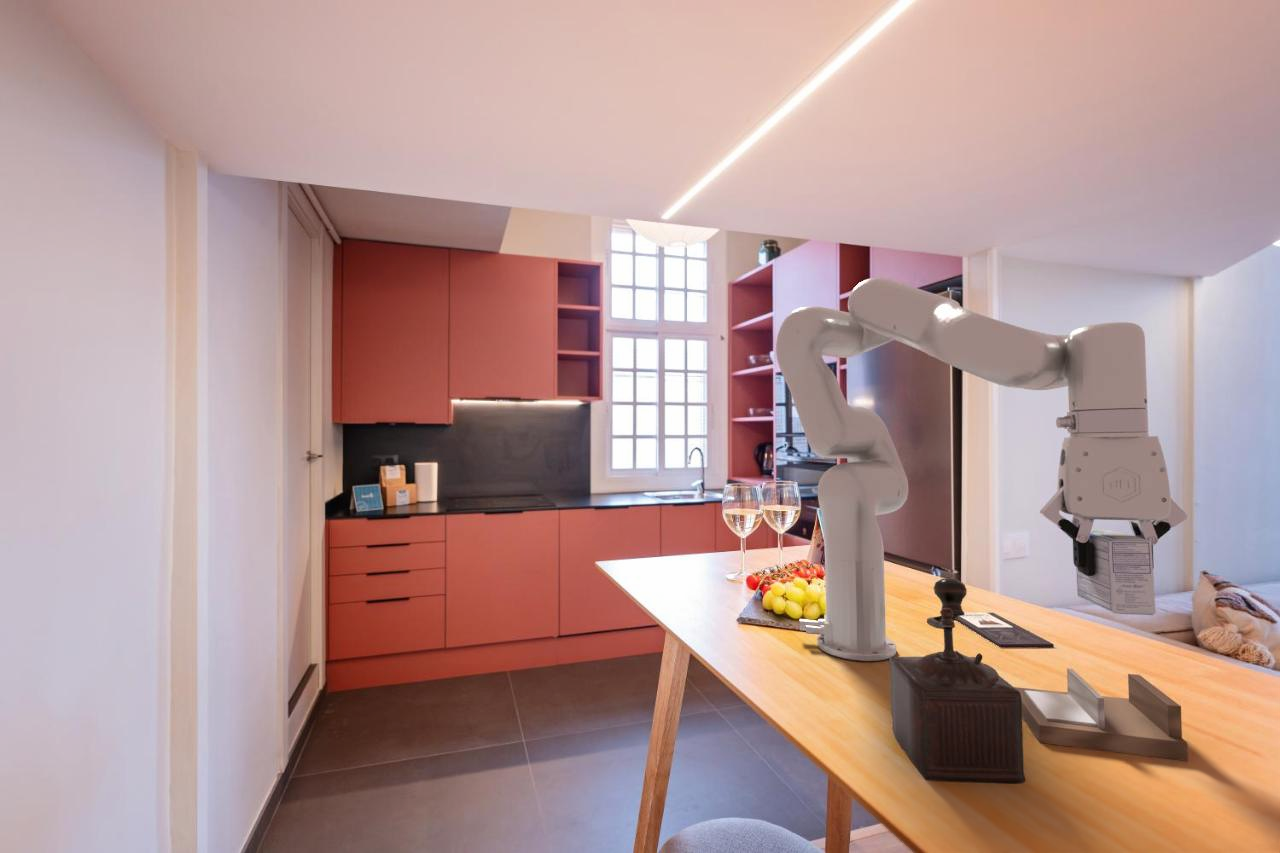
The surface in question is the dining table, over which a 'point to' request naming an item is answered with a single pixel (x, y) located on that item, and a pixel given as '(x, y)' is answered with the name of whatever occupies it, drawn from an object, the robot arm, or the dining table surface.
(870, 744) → the dining table surface
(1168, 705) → the brown holder stand
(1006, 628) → the chocolate bar
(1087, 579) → the medicine box
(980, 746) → the brown coffee grinder
